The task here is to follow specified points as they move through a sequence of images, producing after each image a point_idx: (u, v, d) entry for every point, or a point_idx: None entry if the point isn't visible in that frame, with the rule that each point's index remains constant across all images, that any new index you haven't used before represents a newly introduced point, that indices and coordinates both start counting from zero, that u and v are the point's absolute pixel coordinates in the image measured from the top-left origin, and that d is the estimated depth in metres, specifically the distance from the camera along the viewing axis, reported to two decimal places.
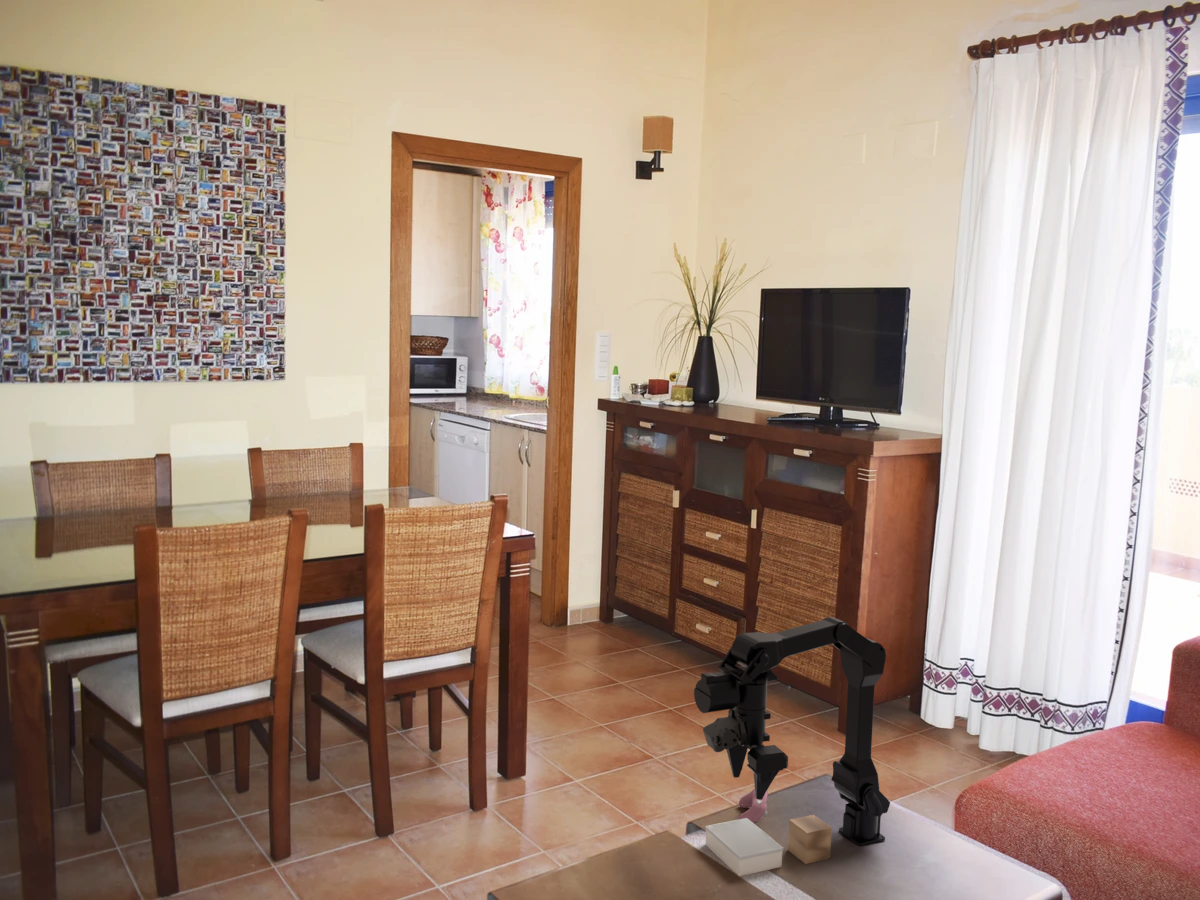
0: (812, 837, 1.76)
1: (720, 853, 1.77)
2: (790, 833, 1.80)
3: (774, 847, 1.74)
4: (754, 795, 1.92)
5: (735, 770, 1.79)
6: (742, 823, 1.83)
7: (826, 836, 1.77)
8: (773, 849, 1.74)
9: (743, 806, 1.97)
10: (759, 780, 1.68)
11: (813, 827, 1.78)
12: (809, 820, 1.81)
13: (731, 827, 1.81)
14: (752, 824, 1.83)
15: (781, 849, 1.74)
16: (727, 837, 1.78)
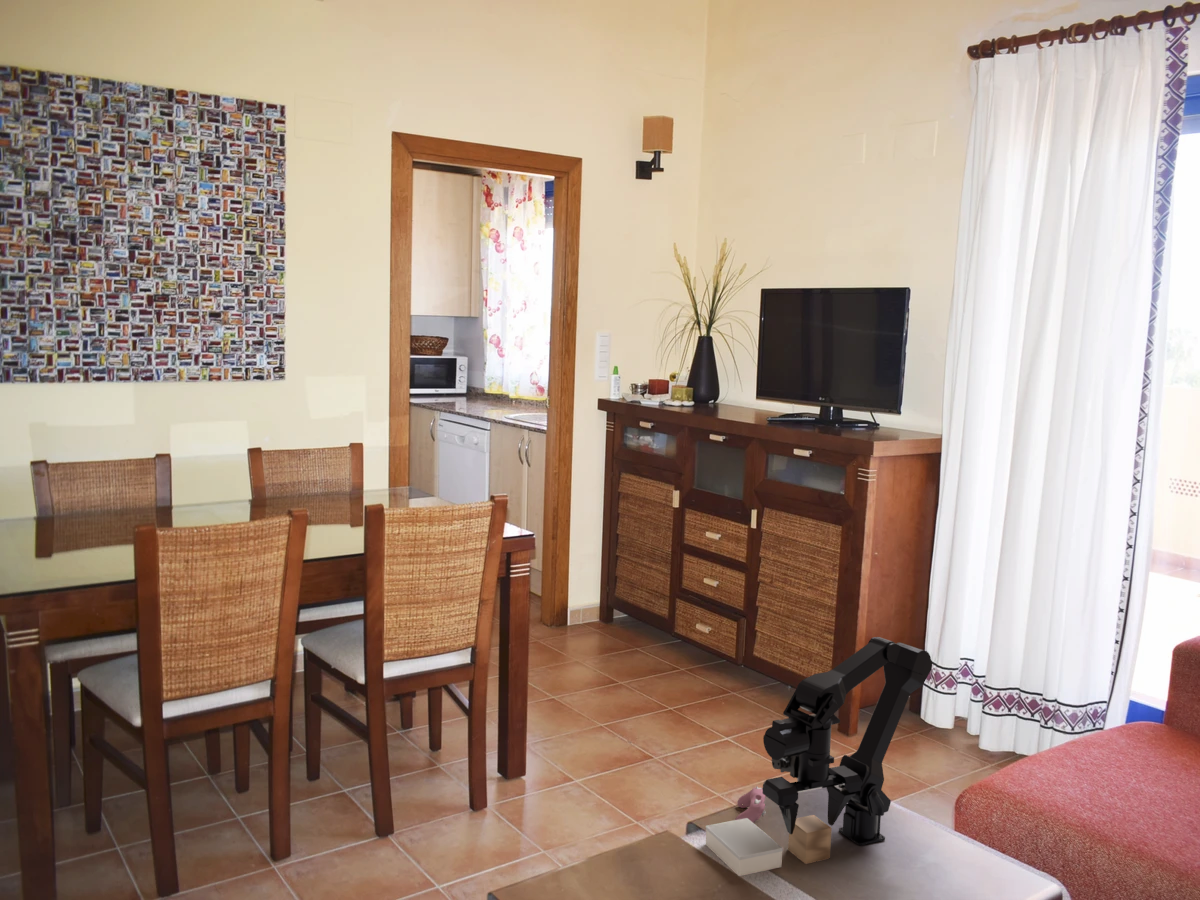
0: (812, 837, 1.76)
1: (720, 853, 1.77)
2: None
3: (774, 848, 1.74)
4: (752, 795, 1.92)
5: (829, 816, 1.81)
6: (743, 823, 1.83)
7: (826, 836, 1.77)
8: (773, 849, 1.74)
9: (741, 806, 1.97)
10: (782, 811, 1.77)
11: (813, 827, 1.78)
12: (809, 820, 1.81)
13: (731, 827, 1.81)
14: (752, 824, 1.83)
15: (781, 849, 1.74)
16: (727, 837, 1.78)
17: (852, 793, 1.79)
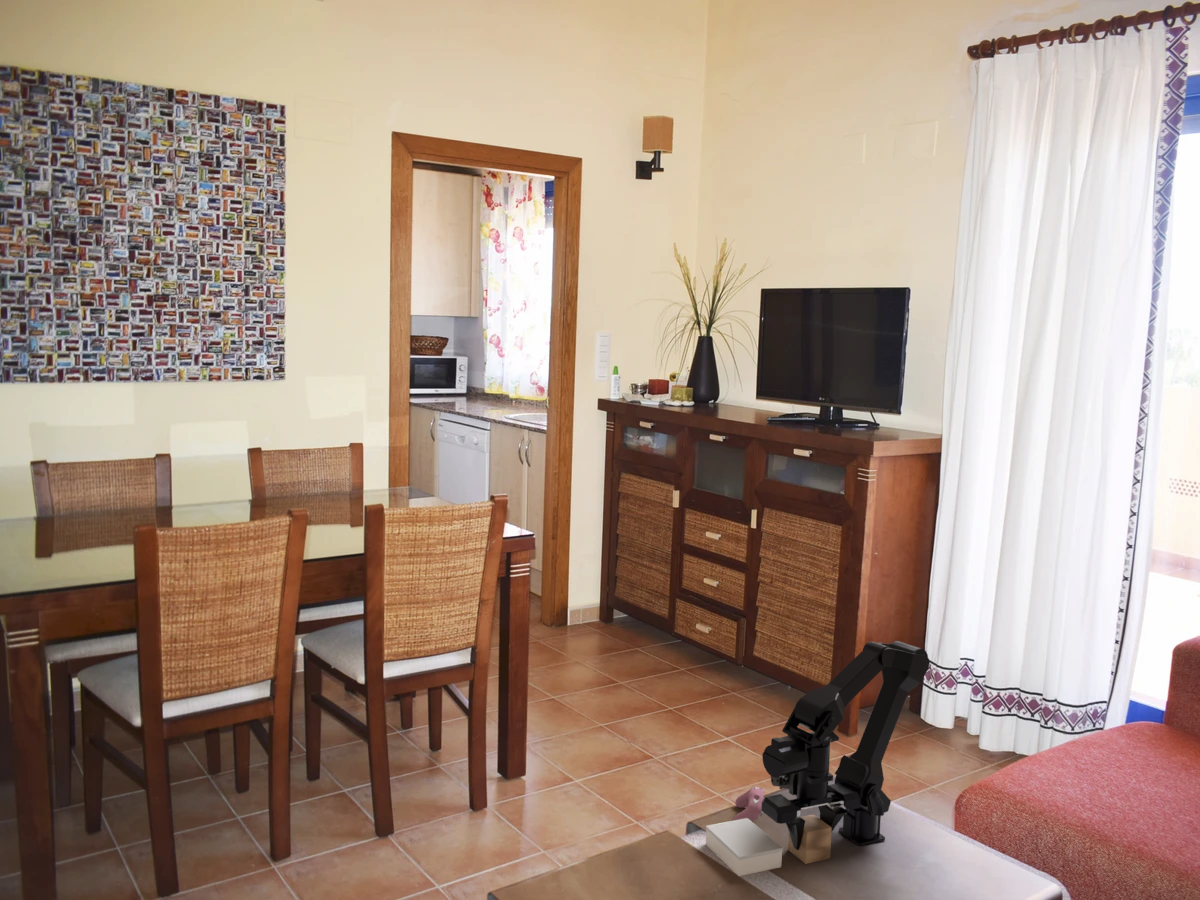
0: (812, 836, 1.76)
1: (719, 852, 1.77)
2: None
3: (774, 848, 1.74)
4: (750, 795, 1.92)
5: None
6: (743, 823, 1.83)
7: (826, 835, 1.77)
8: (773, 849, 1.74)
9: (739, 806, 1.97)
10: (788, 827, 1.78)
11: (813, 826, 1.78)
12: (809, 819, 1.81)
13: (731, 827, 1.81)
14: (752, 824, 1.83)
15: (781, 849, 1.74)
16: (727, 837, 1.78)
17: (844, 812, 1.79)
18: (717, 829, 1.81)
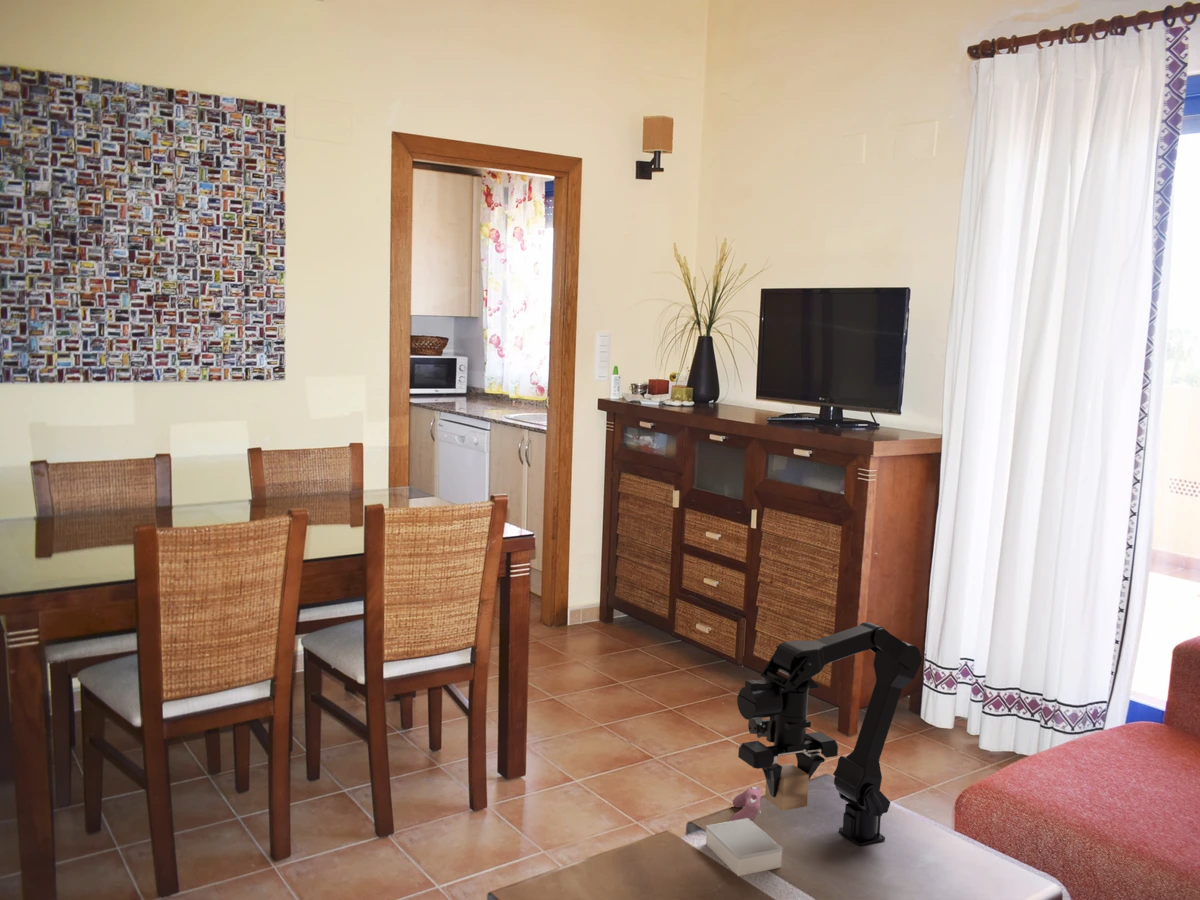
0: (789, 783, 1.74)
1: (719, 852, 1.77)
2: None
3: (774, 848, 1.74)
4: (748, 794, 1.92)
5: None
6: (743, 823, 1.83)
7: (803, 783, 1.76)
8: (772, 849, 1.74)
9: (737, 806, 1.97)
10: (765, 774, 1.76)
11: (790, 773, 1.76)
12: (786, 767, 1.79)
13: (731, 827, 1.81)
14: (753, 824, 1.83)
15: (781, 849, 1.74)
16: (727, 837, 1.78)
17: (821, 759, 1.77)
18: (717, 829, 1.81)
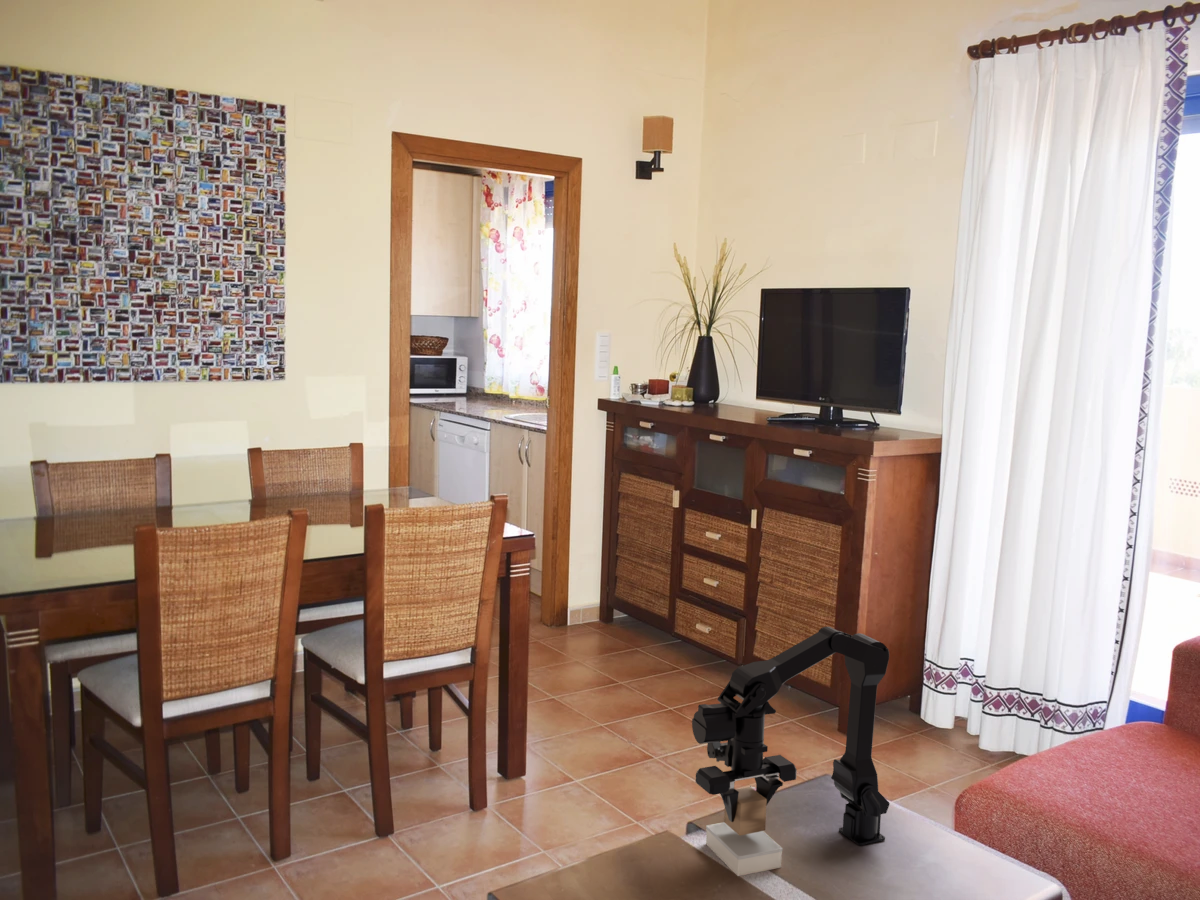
0: (746, 808, 1.74)
1: (719, 852, 1.77)
2: None
3: (774, 848, 1.74)
4: None
5: None
6: None
7: (761, 807, 1.76)
8: (772, 849, 1.74)
9: None
10: (723, 798, 1.76)
11: (748, 798, 1.76)
12: (745, 791, 1.79)
13: None
14: None
15: (780, 849, 1.74)
16: (727, 837, 1.78)
17: (779, 784, 1.77)
18: (717, 829, 1.81)
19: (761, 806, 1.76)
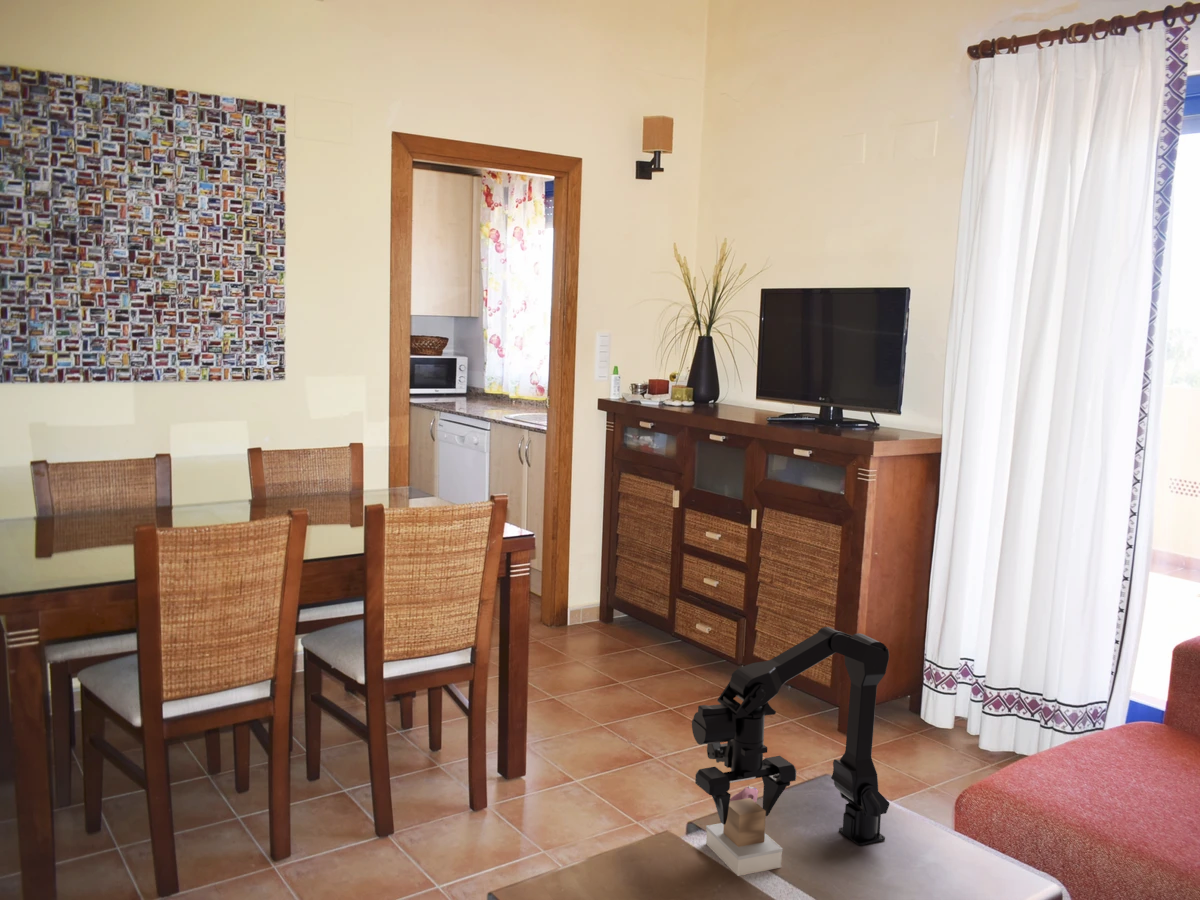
0: (745, 819, 1.74)
1: (719, 852, 1.77)
2: None
3: (774, 848, 1.74)
4: (744, 794, 1.92)
5: (764, 807, 1.80)
6: None
7: (760, 819, 1.76)
8: (772, 849, 1.74)
9: None
10: (715, 801, 1.76)
11: (747, 809, 1.76)
12: (744, 802, 1.79)
13: None
14: None
15: (780, 850, 1.74)
16: (727, 837, 1.78)
17: (786, 783, 1.77)
18: (717, 829, 1.81)
19: (760, 818, 1.76)
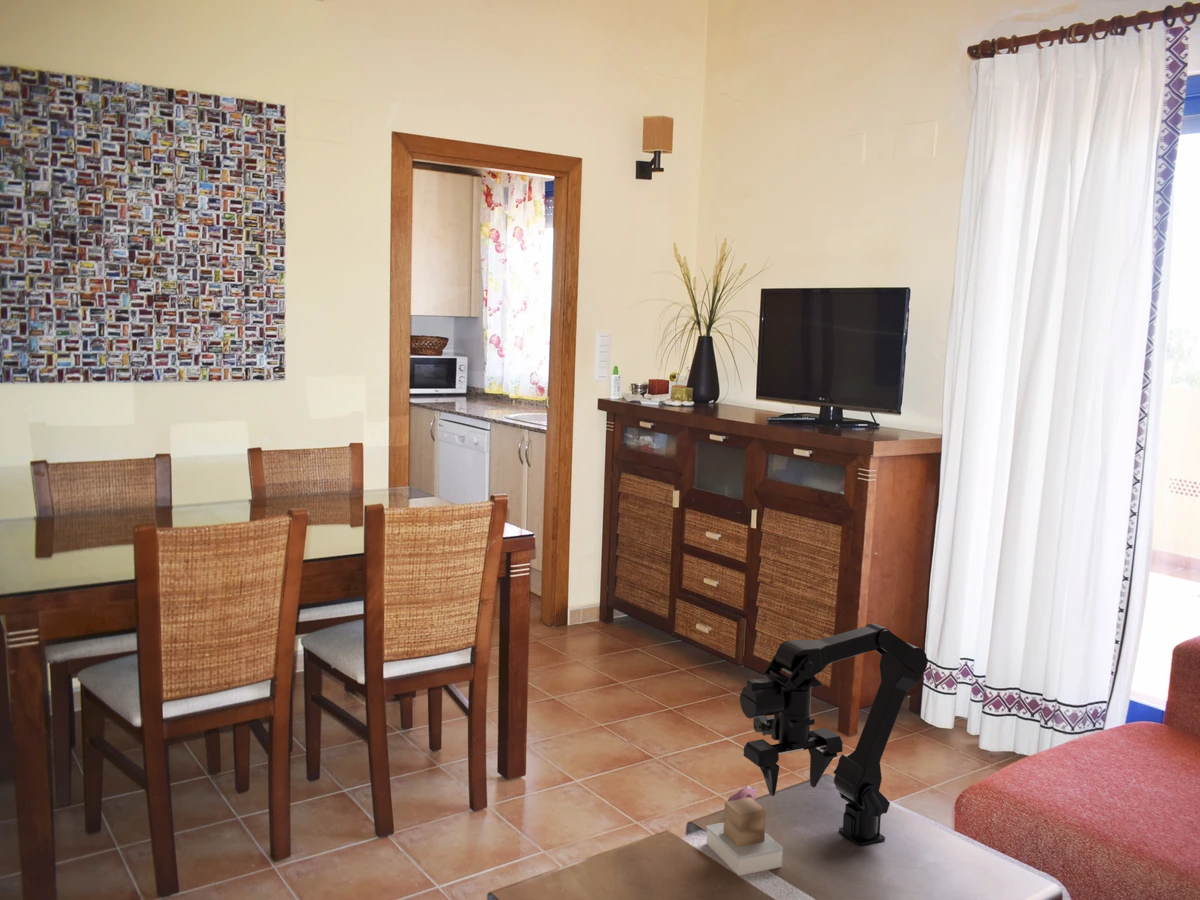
0: (745, 819, 1.74)
1: (720, 852, 1.77)
2: (725, 815, 1.79)
3: (774, 848, 1.74)
4: (742, 794, 1.92)
5: (811, 778, 1.82)
6: None
7: (760, 818, 1.76)
8: (773, 849, 1.74)
9: None
10: (763, 773, 1.78)
11: (747, 809, 1.76)
12: (744, 802, 1.79)
13: None
14: None
15: (781, 849, 1.74)
16: (727, 837, 1.78)
17: (833, 754, 1.79)
18: (718, 829, 1.81)
19: (760, 817, 1.76)
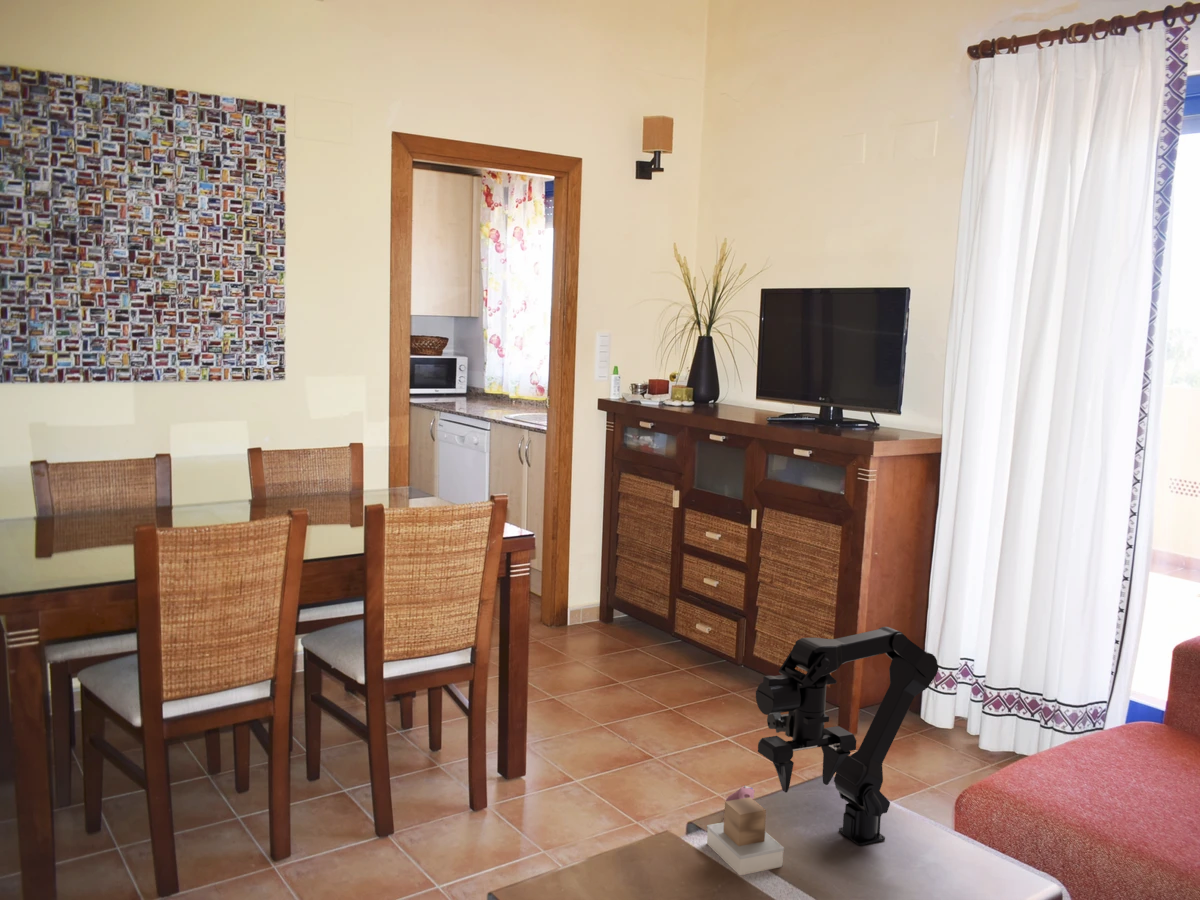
0: (745, 818, 1.75)
1: (721, 852, 1.77)
2: (725, 815, 1.79)
3: (775, 847, 1.74)
4: (741, 794, 1.92)
5: (823, 776, 1.82)
6: None
7: (760, 818, 1.76)
8: (774, 849, 1.74)
9: None
10: (777, 769, 1.78)
11: (747, 809, 1.76)
12: (744, 802, 1.79)
13: None
14: None
15: (782, 849, 1.74)
16: None
17: (847, 752, 1.80)
18: (718, 829, 1.81)
19: (760, 817, 1.76)
